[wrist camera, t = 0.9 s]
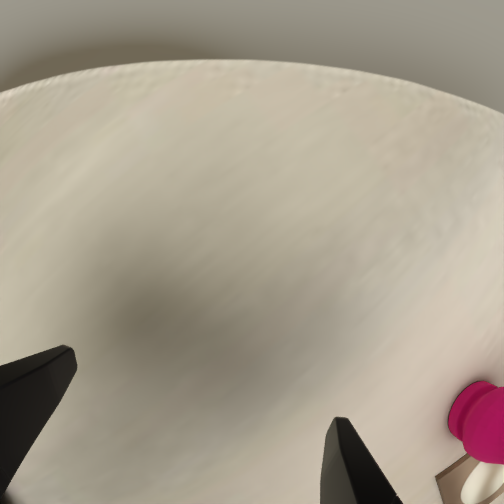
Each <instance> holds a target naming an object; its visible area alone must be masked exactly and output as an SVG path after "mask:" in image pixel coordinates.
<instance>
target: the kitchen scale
mask: <svg viewBox="0 0 504 504" xmlns="http://www.w3.org/2000/svg"><path fill="white" fill-rule="evenodd" d="M435 478H436V481H437V484H438V487H439V490H440V493H441V497H442V500H443V503H444V504H489V503H491V502H492V501H493V500H494V499H496V498H497V497H498V496H499V495H500V494H502V493H503V492H504V465H502V464H491V463H484V462H481V461H478V460H476V459H475V458H473V457H472V456H470V455H469V454H468V453H467V454H466V455H465V456H463V457H462V458H461V459H459V460H458V461H457V462H455V463H454V464H453V465H451V466H450V467H448V468H447V469H446V470H444V471H443V472H441V473H440V474H438V475H437V476H435Z"/></svg>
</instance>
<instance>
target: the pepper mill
mask: <svg viewBox="0 0 504 504" xmlns="http://www.w3.org/2000/svg"><path fill="white" fill-rule="evenodd" d="M448 425H449V429H450V431H451V433H452V434H453V435H454V436H456V437H457V438H458V439H459V440H461V441H462V442H463V446H464V449H465V451H466V452H467V453H468V454H469V455H470V456H472V457H473V458H475V459H476V460H478V461H481V462H484V463H491V464H502V465H504V387H499V388H498V387H497V386H495V385H492V384H490V383H488V382H485V381H479V382H476V383H473V384H471V385H470V386H469V387H467V388H466V389H465V390H464V391H463V392H462V393H461V394H460V395H459V396H458V397H457V399H456V401H455V402H454V404H453V406H452V408H451V411H450V414H449V421H448Z"/></svg>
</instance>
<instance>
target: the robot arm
mask: <svg viewBox="0 0 504 504" xmlns="http://www.w3.org/2000/svg"><path fill="white" fill-rule="evenodd" d="M76 371H77V362H76V357H75V353H74V350H73V348H71V347H69V346H66V345H60V346H58V347H55V348H52V349H49V350H46V351H43V352H40V353H37V354H34V355H31V356H28V357H25V358H22V359H19V360H16V361H13V362H10V363H7V364H4V365H1V366H0V499H1V498H2V496H3V494H4V492H5V490H6V489H7V487H8V485H9V483H10V482H11V480H12V478H13V476H14V475H15V473H16V471H17V469H18V468H19V466H20V464H21V463H22V461H23V459H24V458H25V456H26V454H27V453H28V451H29V450H30V448H31V446H32V445H33V443H34V442H35V440H36V438H37V437H38V435H39V434H40V432H41V430H42V429H43V427H44V426H45V424H46V423H47V421H48V420H49V418H50V417H51V415H52V414H53V412H54V411H55V409H56V408H57V406H58V404H59V403H60V401H61V399H62V397H63V396H64V394H65V392H66V390H67V388H68V386H69V384H70V382H71V380H72V378H73V377H74V375H75V373H76ZM396 495H397V494H396V492H395V491H394V489H393V488H392V486H391V485H390V483H389V481H388V480H387V478H386V477H385V475H384V474H383V472H382V471H381V469H380V467H379V466H378V464H377V463H376V461H375V460H374V458H373V457H372V455H371V453H370V452H369V450H368V449H367V447H366V446H365V444H364V443H363V441H362V439H361V438H360V436H359V435H358V433H357V432H356V430H355V429H354V427H353V425H352V424H351V422H350V421H349V419H348V418H345V417H335V418H334V419H333V421H332V423H331V425H330V427H329V429H328V431H327V434H326V438H325V447H324V455H323V463H322V470H321V481H320V504H403V503H402V501H401V500H400V498H399V497H398V496H396Z"/></svg>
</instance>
